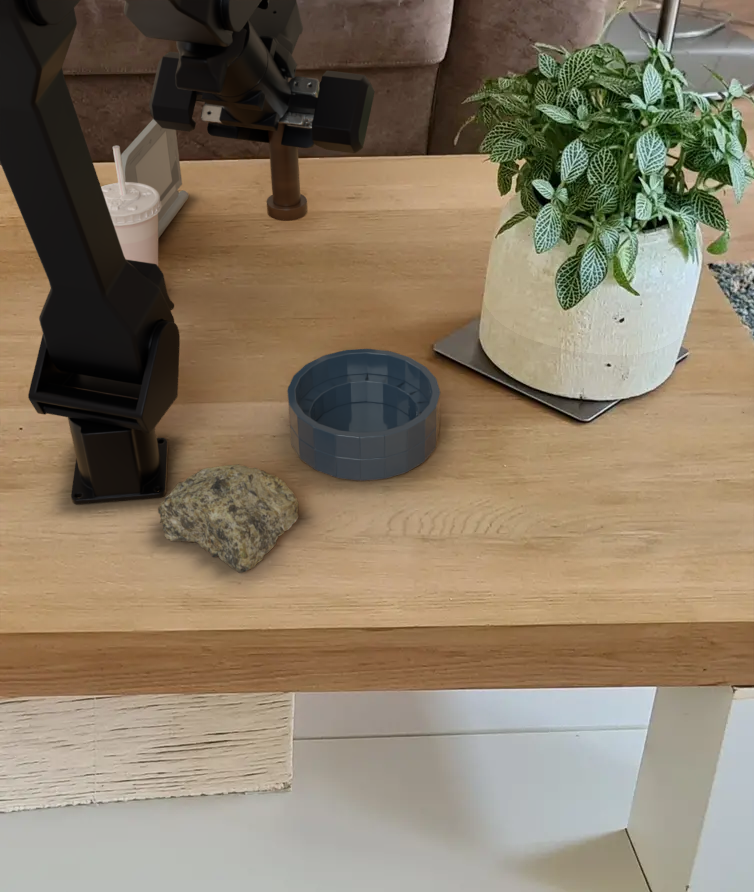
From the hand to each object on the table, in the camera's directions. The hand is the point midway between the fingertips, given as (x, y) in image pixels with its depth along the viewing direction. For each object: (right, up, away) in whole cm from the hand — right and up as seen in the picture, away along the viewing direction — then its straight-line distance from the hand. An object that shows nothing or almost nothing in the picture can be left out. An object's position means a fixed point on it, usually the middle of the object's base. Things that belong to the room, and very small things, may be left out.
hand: (288, 140), depth 107 cm
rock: (0, -35, -27) cm, 44 cm away
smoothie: (-13, -15, -3) cm, 20 cm away
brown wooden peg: (0, -6, +3) cm, 7 cm away
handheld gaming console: (-17, -7, +8) cm, 20 cm away
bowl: (+8, -28, -18) cm, 34 cm away
